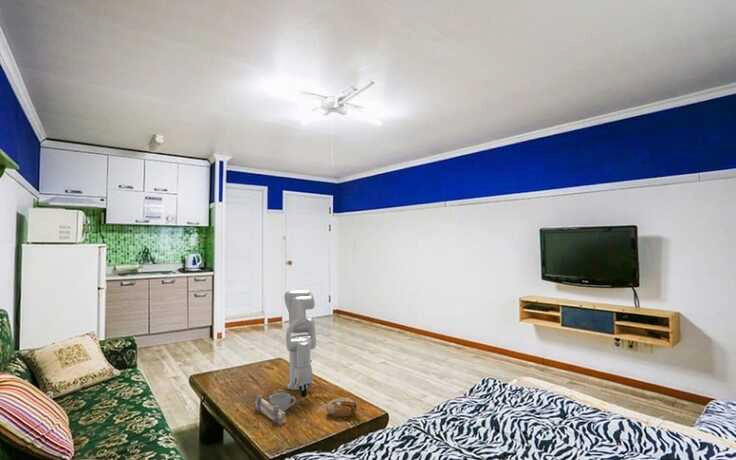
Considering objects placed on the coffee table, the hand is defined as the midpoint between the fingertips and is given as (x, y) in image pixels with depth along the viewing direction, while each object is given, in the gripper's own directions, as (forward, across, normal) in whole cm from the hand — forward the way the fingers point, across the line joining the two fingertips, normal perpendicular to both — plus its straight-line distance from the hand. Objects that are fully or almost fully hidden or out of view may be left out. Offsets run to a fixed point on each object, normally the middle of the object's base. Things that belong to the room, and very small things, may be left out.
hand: (303, 396), depth 209 cm
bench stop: (+3, +22, +1) cm, 22 cm away
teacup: (+3, +14, +1) cm, 14 cm away
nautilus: (+3, -6, +30) cm, 30 cm away
